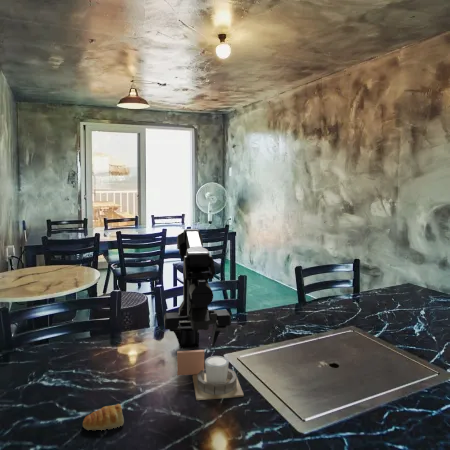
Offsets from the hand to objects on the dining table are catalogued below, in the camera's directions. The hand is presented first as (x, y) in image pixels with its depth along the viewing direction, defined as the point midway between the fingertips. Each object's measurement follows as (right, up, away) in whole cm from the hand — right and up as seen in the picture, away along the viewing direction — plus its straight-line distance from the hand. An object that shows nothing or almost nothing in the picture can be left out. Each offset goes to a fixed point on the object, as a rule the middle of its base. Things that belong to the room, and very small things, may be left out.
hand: (197, 347), depth 110 cm
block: (-2, -10, +5) cm, 12 cm away
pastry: (-21, -13, -18) cm, 30 cm away
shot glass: (+6, -11, 0) cm, 12 cm away
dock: (+6, -11, 0) cm, 12 cm away
